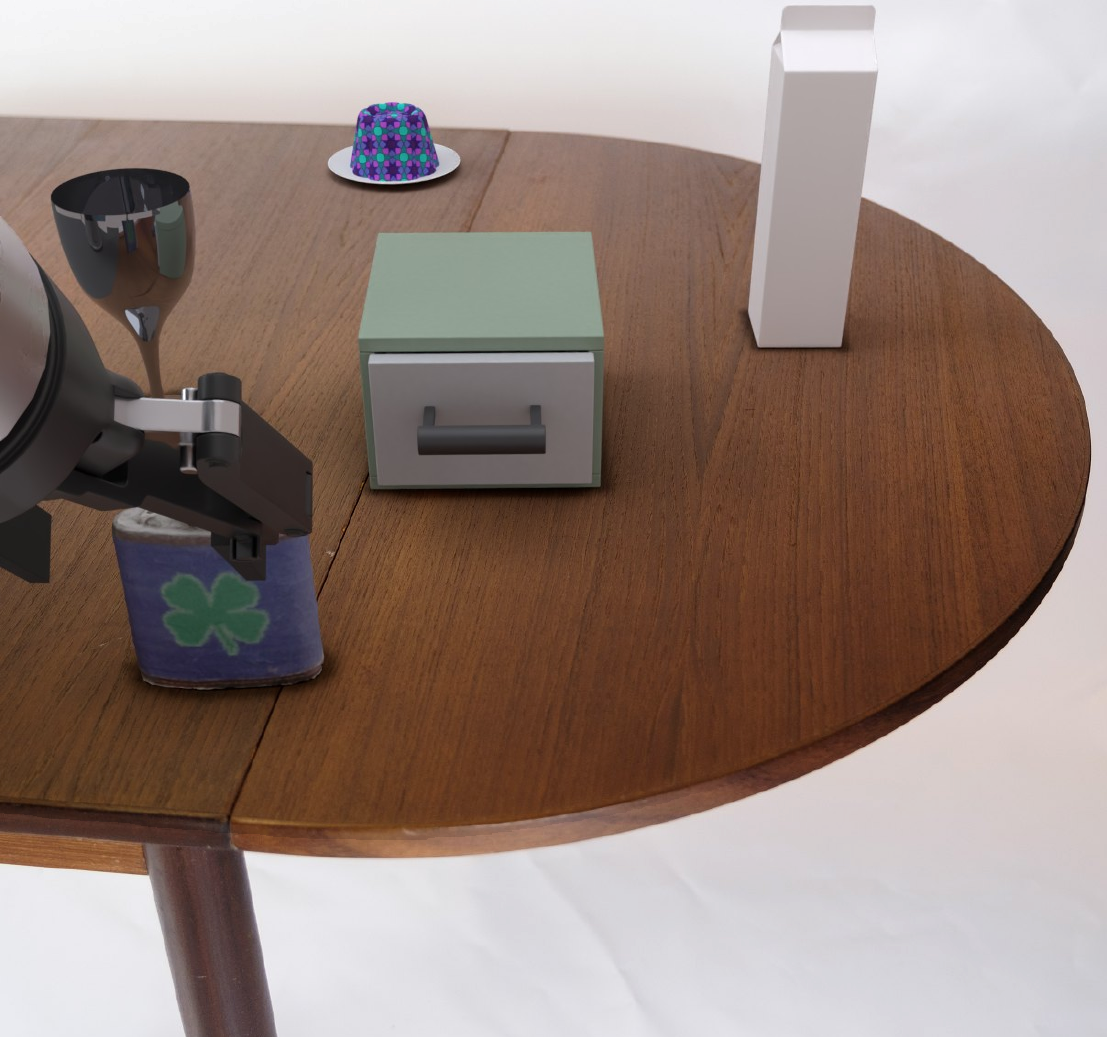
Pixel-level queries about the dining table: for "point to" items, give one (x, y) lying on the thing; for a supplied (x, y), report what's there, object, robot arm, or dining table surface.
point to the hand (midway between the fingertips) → (148, 547)
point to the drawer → (482, 417)
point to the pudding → (393, 148)
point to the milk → (812, 173)
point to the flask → (215, 608)
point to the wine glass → (130, 248)
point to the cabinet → (483, 307)
